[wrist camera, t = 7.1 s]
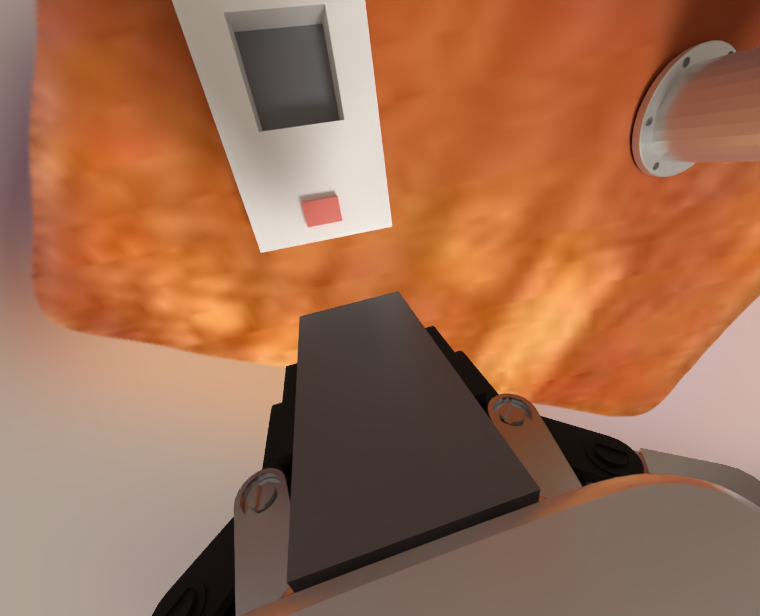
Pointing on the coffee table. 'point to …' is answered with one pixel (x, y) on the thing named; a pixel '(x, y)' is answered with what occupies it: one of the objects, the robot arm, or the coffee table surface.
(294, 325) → the coffee table surface
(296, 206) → the power strip
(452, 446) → the plug
